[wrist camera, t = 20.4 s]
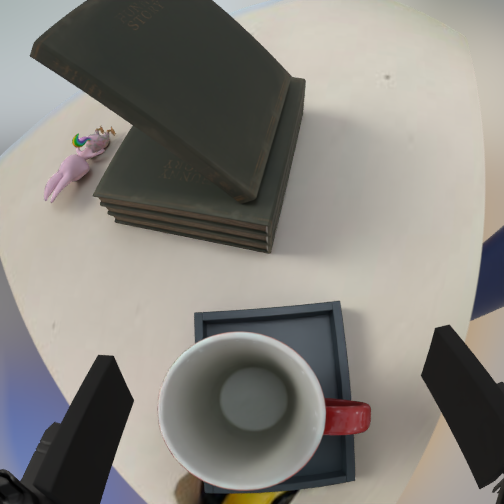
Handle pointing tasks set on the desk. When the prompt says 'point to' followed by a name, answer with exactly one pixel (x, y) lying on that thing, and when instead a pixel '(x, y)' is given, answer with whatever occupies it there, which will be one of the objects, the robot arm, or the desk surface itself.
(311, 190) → the desk surface
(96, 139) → the pink toy figure
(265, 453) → the mug
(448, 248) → the desk surface
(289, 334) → the tray
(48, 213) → the desk surface
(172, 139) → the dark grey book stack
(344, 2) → the desk surface
